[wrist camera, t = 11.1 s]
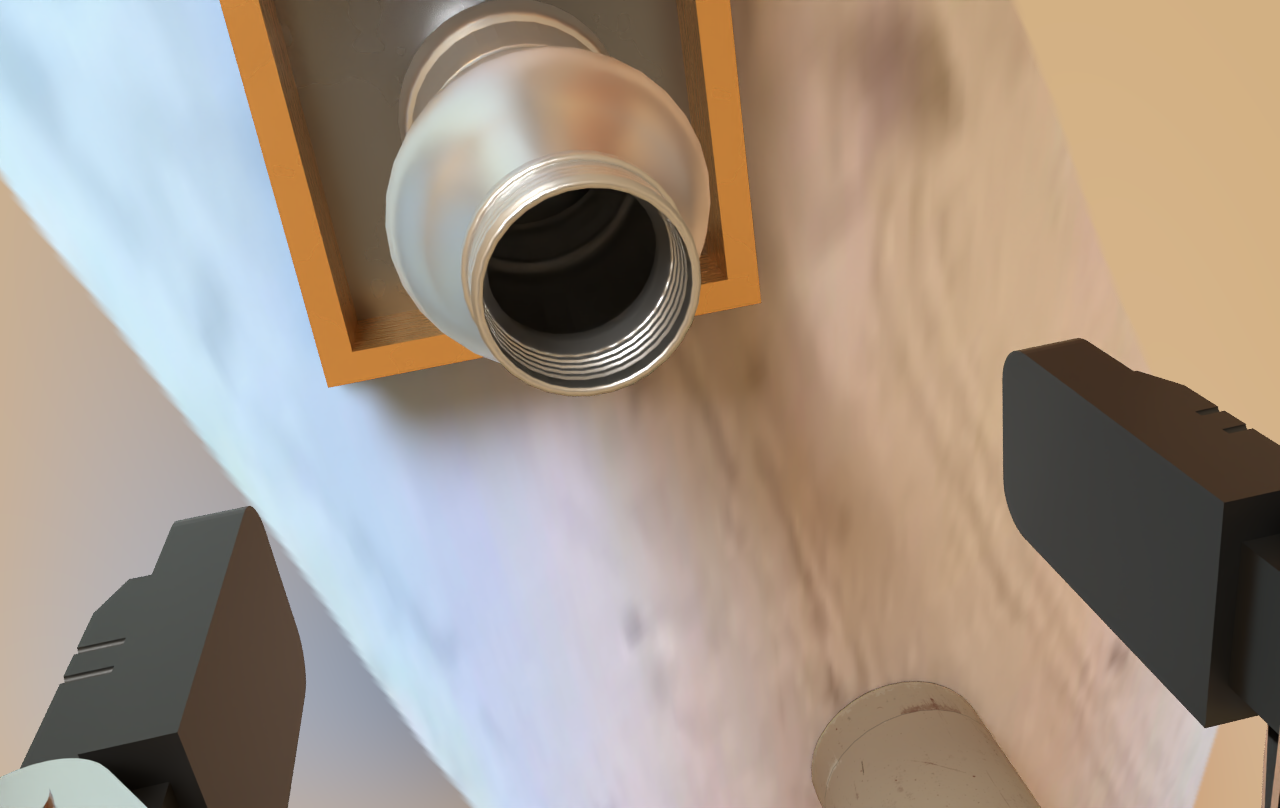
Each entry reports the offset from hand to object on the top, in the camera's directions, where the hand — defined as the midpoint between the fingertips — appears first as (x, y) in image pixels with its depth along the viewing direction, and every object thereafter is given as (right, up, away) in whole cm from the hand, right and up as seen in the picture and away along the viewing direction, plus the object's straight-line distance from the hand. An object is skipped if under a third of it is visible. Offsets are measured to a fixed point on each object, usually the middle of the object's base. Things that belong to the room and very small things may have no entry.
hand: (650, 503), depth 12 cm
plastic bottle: (-4, +11, +24) cm, 27 cm away
